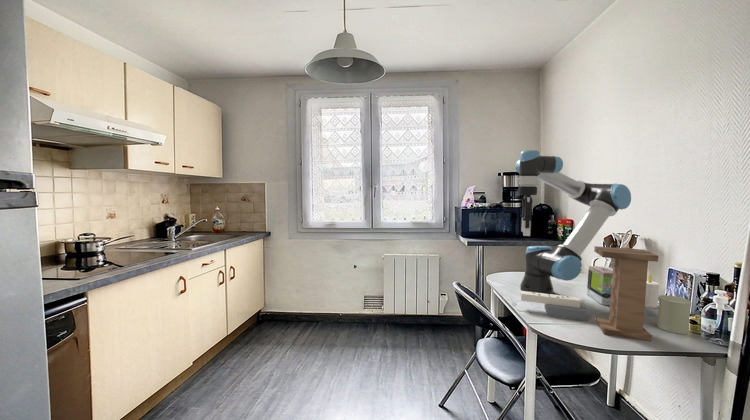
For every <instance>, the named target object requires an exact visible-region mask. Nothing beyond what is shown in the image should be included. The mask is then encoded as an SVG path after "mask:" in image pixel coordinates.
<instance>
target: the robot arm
mask: <svg viewBox="0 0 750 420" xmlns="http://www.w3.org/2000/svg"><path fill="white" fill-rule="evenodd" d="M519 155H520V156H519V157H520V158H519V159H518V160H517V161H516V163H515V170H516V173H518V174H519V176H518V177H519V178H517V181H518V185H519V186H518V191H517V192H518V195H520V196H522V199H521V203H522V204H521V206H522V211H521V228H520V229H521V232H522V235H523V236H524V237H531V228H532V227H531V226H532V207H533V197H532V196H537V194H538V187H537V186H538V183H539V182H538V181H540V182H542V183H544V184H547V185H549V186H551V187H552V188H555V189H557V190H558V191H561V192H563V193H564V194H567V195H568V197H569V198H571V199H572V200H574V201H576V202H579V203H581V204H583V205H586V206H587V207H589V208H588V210H587V211H586V212H585V213H584V215H583V216H582V217H581V219H580V221H579V222H578V223H577V225H576V226H575V227H574V229H573V230H572V232H570V234H569V235H568V237H567V238H566V239H565V241H564V242H563V243H562V244H558V245H556V246H555V248H554V249H553V248H552V246H549V245H530V246H527V247H526V249H525V261H524V262H525V263H524V276H523V277H522V280H521V283H520V292H521V291H527V292H536V293H544V294H553V295H554V291H555V290H554V287H553V282H552V280H551V277H553V278H555V279H557V280H562V281H566V282H567V281H572V280H574V279H576V278H577V277H578V276H579V275H580V274H581V272H582V267H583V264H582V261H583V258H582V255H583V253H584V251H585V250H586V249H587V248H588V246H589V244H590V243H591V242H592V241H593V239H594V238H595V236H596V235H597V234H598V232H599V231H600V229H601V228H602V227H603V225H604V224H605V223H606V221H607V220H608V218H609V217H614V216H616V215H617V213H618V211H619V210H626V209H627V208H628V207H629V206H630V204H631V203H632V192H631V190H630V189H629V187H627V186H626V185H625V184H621V183H589V182H585V181H583V180H576V179H574V178H571V177H569V176H568V175H566V174H563V173H562V172H561V171H562V170H563V167H564V161H563V159H562V158H561V157H559V156H555V155H540V152H539V150H536V149H533V150H531V149H530V150H522V151H521V152H520V154H519Z"/></svg>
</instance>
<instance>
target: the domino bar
mask: <svg viewBox="0 0 750 420" xmlns="http://www.w3.org/2000/svg"><path fill="white" fill-rule="evenodd" d="M520 301H522V302H529V303H538V304H544V305H545V304H552V305H560V306H568V307H576V308H580V303H581V299H580V298H579V297H577V296H569V295H560V294H554V293H553V294H544V293H536V292H527V291H521V290H520Z"/></svg>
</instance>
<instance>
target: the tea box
mask: <svg viewBox="0 0 750 420" xmlns="http://www.w3.org/2000/svg"><path fill="white" fill-rule="evenodd" d="M587 270H588V272H587V273H588V274H587V288H586V295H587V296H588V297H590V298H591V299H593V301H596V302H597V303H599V304H600V305H603V306H604V305H605V306H610V293H611V280H612V276H613V267H609V266H597V265H594V266H593V265H589V266H588V269H587Z"/></svg>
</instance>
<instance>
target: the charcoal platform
mask: <svg viewBox="0 0 750 420" xmlns="http://www.w3.org/2000/svg"><path fill="white" fill-rule="evenodd" d="M544 309H545V313H546V315H548V317H555V316H556V317H557V318H562V317H563V319H569V320H571V319H572V320H579V321H584V322H585V321H586V322H587V321H588V310H587V309H586V307H585V305H584V304H583V303H582V302H580V308H576V307H568V306H560V305H552V304H544ZM556 317H555V318H556Z"/></svg>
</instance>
